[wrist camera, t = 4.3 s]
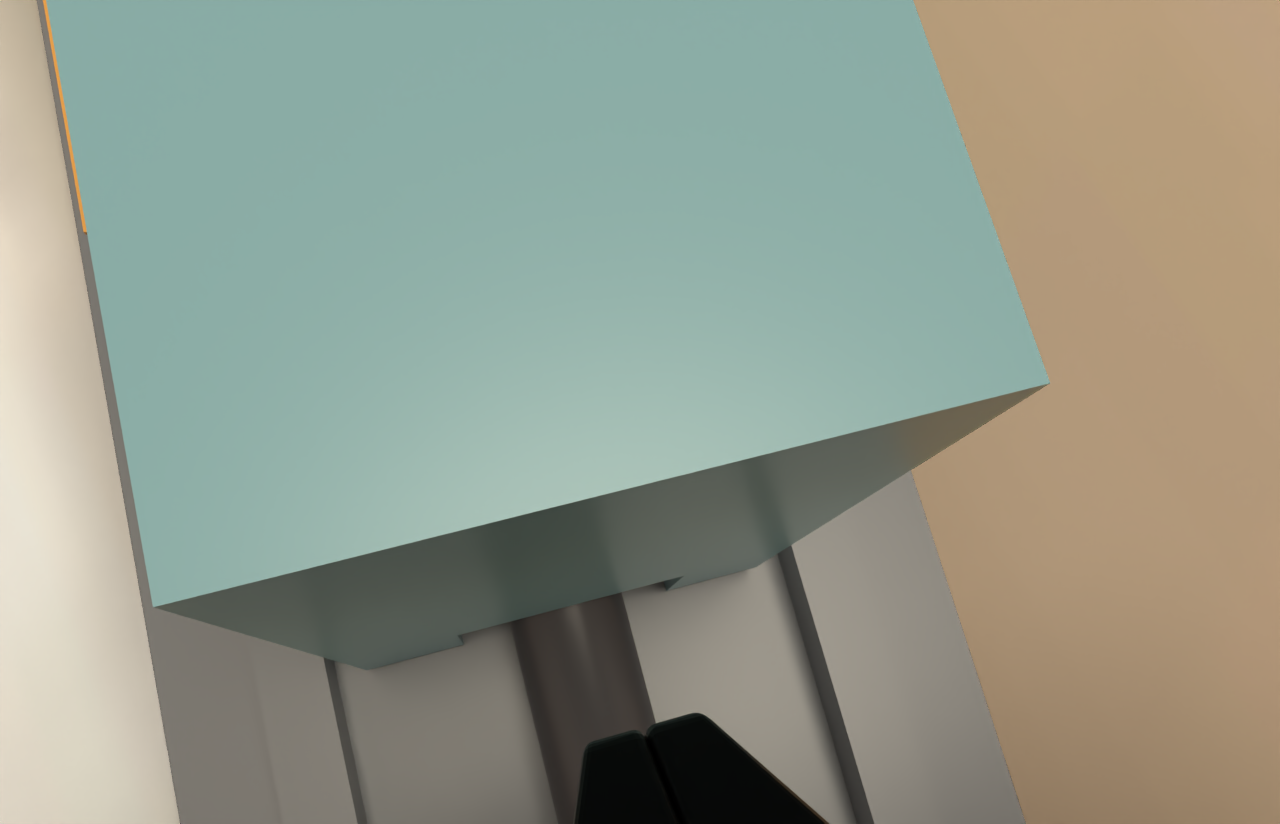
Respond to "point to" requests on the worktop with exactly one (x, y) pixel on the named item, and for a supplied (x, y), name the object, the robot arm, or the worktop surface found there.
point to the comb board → (594, 684)
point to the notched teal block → (519, 295)
